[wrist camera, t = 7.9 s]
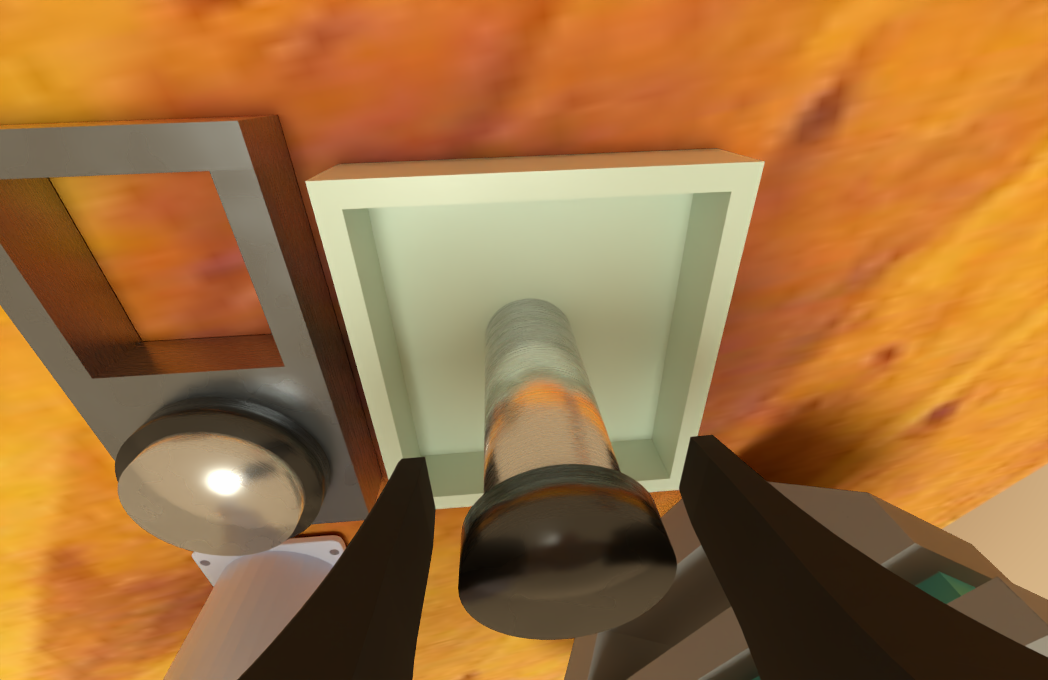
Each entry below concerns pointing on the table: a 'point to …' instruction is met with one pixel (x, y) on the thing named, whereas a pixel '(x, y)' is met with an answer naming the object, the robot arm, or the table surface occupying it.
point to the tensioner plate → (193, 340)
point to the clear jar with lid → (554, 496)
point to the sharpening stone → (856, 517)
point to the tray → (536, 291)
